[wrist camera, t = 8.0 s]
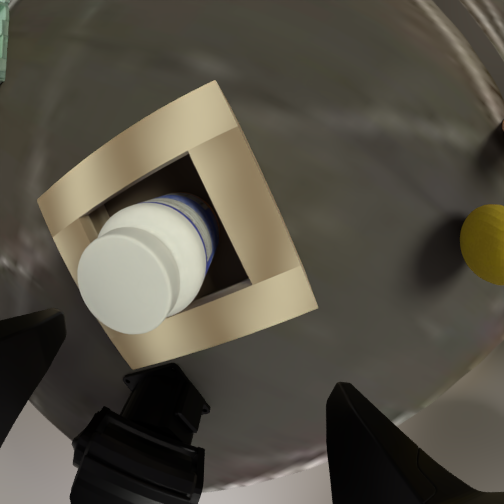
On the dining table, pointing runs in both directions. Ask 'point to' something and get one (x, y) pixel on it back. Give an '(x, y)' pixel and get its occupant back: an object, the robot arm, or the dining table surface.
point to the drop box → (219, 199)
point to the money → (3, 37)
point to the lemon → (484, 242)
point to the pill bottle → (148, 261)
